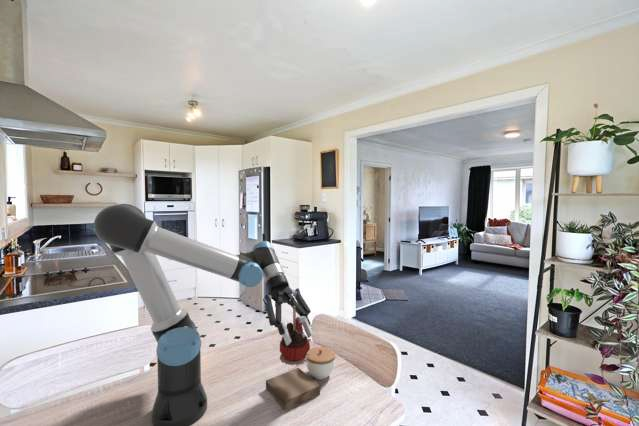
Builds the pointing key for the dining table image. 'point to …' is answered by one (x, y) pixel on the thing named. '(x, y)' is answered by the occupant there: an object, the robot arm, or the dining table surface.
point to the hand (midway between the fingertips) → (300, 339)
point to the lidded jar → (320, 362)
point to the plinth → (292, 388)
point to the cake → (295, 343)
